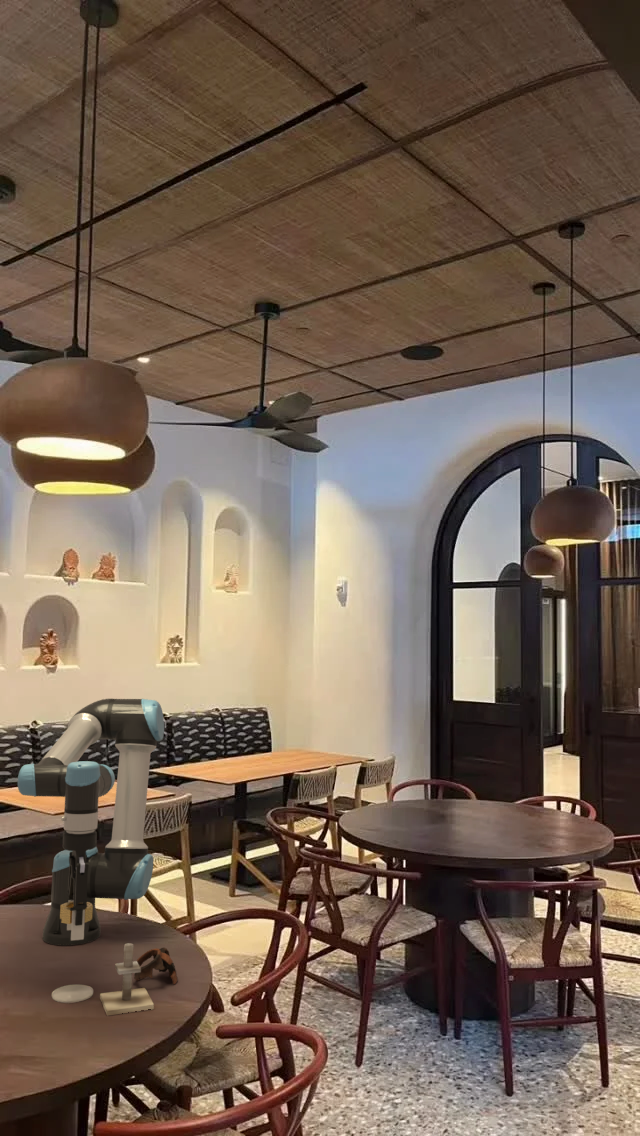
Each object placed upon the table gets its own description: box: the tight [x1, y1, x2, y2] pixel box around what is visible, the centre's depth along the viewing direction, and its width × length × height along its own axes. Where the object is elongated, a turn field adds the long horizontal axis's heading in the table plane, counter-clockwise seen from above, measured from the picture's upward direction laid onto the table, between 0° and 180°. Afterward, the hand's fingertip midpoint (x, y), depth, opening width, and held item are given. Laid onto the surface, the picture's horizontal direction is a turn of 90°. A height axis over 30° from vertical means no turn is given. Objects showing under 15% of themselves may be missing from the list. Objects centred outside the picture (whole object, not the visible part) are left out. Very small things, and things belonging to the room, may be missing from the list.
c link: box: [60, 902, 93, 924], centre depth 195 cm, size 7×7×3 cm
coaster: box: [51, 984, 94, 1004], centre depth 193 cm, size 9×9×1 cm
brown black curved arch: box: [133, 947, 178, 985], centre depth 204 cm, size 12×10×8 cm
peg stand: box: [99, 942, 155, 1016], centre depth 190 cm, size 10×10×12 cm
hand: (75, 934), depth 195 cm, fingers closed on c link, 7 cm apart
